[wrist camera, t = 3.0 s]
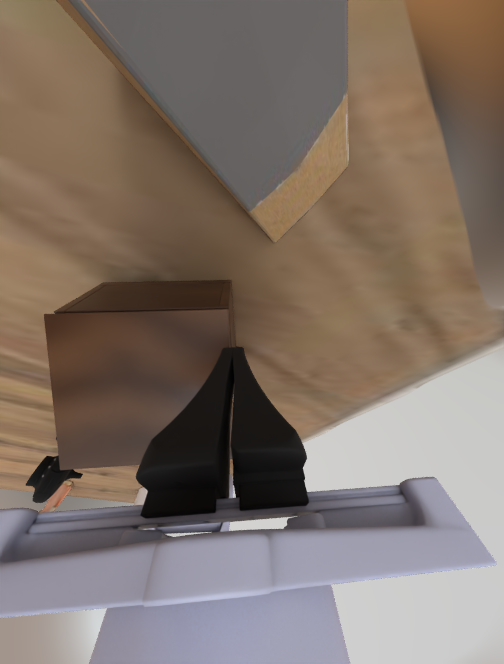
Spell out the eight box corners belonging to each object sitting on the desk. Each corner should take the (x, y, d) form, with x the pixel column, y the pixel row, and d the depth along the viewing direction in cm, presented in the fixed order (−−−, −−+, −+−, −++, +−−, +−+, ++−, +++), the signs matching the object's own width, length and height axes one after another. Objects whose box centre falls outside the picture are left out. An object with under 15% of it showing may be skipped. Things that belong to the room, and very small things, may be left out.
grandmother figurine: (69, 487, 53) (29, 556, 43) (54, 485, 51) (7, 556, 41) (78, 479, 50) (36, 551, 40) (61, 477, 48) (13, 551, 38)
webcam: (63, 422, 34) (7, 492, 25) (107, 432, 37) (70, 498, 28) (56, 439, 37) (5, 505, 29) (97, 447, 40) (61, 510, 32)
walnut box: (236, 357, 26) (236, 394, 21) (141, 361, 26) (117, 400, 21) (231, 280, 20) (228, 306, 15) (102, 282, 19) (52, 311, 14)
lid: (234, 452, 15) (234, 458, 15) (68, 463, 15) (59, 470, 14) (228, 309, 15) (228, 309, 14) (53, 314, 14) (43, 314, 13)
